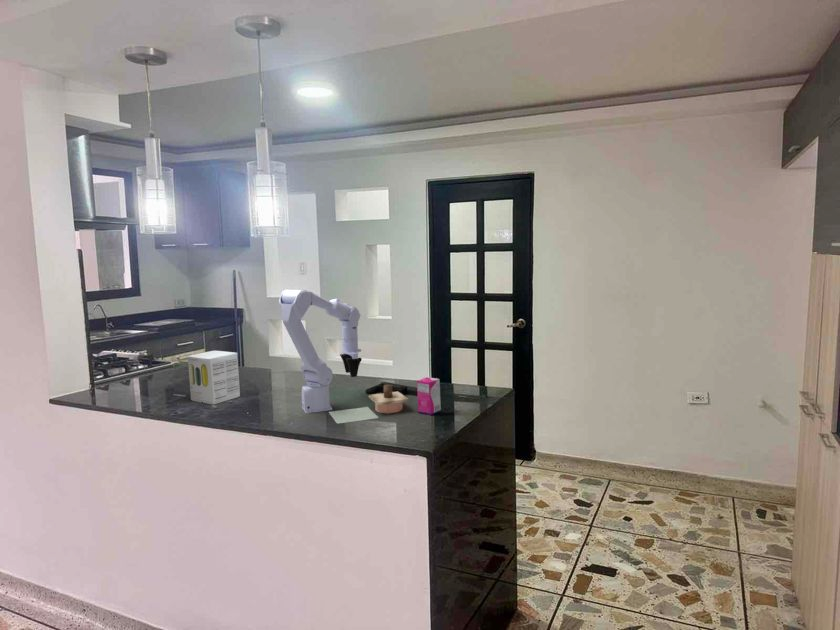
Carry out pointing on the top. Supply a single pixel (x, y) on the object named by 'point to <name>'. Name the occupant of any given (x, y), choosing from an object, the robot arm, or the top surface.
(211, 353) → the supplement box
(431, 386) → the supplement box
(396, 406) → the bowl
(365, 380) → the top surface
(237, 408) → the top surface
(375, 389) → the door handle
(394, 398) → the lid
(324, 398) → the robot arm
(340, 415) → the mat
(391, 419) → the top surface
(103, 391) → the top surface
